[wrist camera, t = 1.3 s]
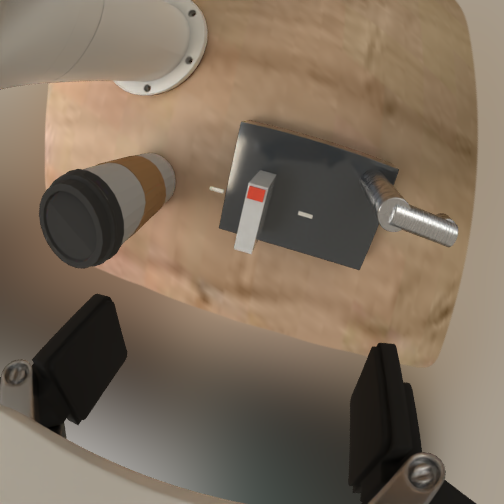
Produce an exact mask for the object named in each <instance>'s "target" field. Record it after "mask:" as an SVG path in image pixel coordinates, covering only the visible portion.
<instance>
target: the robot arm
mask: <svg viewBox="0 0 504 504" xmlns="http://www.w3.org/2000/svg"><path fill="white" fill-rule="evenodd" d="M195 13H196V15H195V16H193V15H194V14H195ZM207 35H208V31H207V24H206V20H205V18H204V15H203V13H202V12H201V10H200V9H199V7H198V6H197V5H196V4H195V3H193V2H192V1H191V0H0V90H1V89H4V88H9V87H15V86H22V85H30V84H40V83H57V82H74V81H114V82H115V84H116V85H117V86H119V87H120V88H121V89H123V90H124V91H127V92H129V93H131V94H136V95H156V94H160V93H164V92H167V91H169V90H171V89H173V88H175V87H177V86H178V85H179V84H181V83H182V82H183V81H185V80H186V79H187V78H188V77H189V76H190V75H191V74H192V73H193V71H194V70H195V69H196V67H197V66H198V64H199V63H200V61H201V58H202V56H203V54H204V52H205V48H206V44H207ZM192 59H193V62H192V63H190V61H191V60H192ZM150 87H151V90H150ZM126 357H127V350H126V346H125V343H124V339H123V335H122V332H121V328H120V324H119V320H118V316H117V313H116V308H115V304H114V302H112V300H111V298H110V297H108V296H104V295H100V294H95V295H93V296H92V297H91V298H90V299H89V301H87V302H86V303H85V304H84V305H83V306H82V307H81V309H79V310H78V311H77V312H76V314H74V315H73V316H72V318H71V319H70V320H69V321H68V322H67V323H66V324H65V325H64V326H63V327H62V328H61V329H60V330H59V331H58V332H57V333H56V334H55V335H54V336H53V337H52V338H51V339H50V340H49V342H48V343H47V344H46V345H45V346H44V347H43V348H42V349H41V350H40V351H39V352H38V353H37V355H36V356H35V357H34V358H33V359H32V360H33V362H34V364H33V365H32V366H31V364H30V363H29V362H27V361H26V360H22V359H21V360H15V361H12V362H11V363H9V364H8V365H7V366H6V367H5V368H4V370H3V371H2V374H1V377H0V504H244V503H239V502H234V501H229V500H225V499H221V498H217V497H213V496H209V495H205V494H201V493H197V492H194V491H191V490H187V489H184V488H180V487H177V486H174V485H171V484H168V483H165V482H162V481H159V480H156V479H154V478H151V477H148V476H145V475H142V474H140V473H138V472H135V471H132V470H130V469H128V468H125V467H123V466H121V465H118V464H116V463H114V462H111V461H109V460H107V459H105V458H102V457H100V456H98V455H96V454H94V453H92V452H90V451H88V450H86V449H84V448H82V447H80V446H78V445H76V444H74V443H73V442H71V441H69V440H67V439H66V433H65V426H64V421H65V420H66V418H67V419H68V420H69V421H71V422H73V423H75V424H77V425H79V423H80V422H81V420H84V419H86V418H87V416H88V415H89V413H90V412H91V410H92V409H93V407H94V406H95V404H96V403H97V401H98V400H99V398H100V397H101V395H102V393H103V392H104V391H105V389H106V388H107V386H108V385H109V383H110V382H111V380H112V379H113V377H114V376H115V374H116V373H117V372H118V370H119V368H120V367H121V366H122V364H123V363H124V361H125V360H126ZM445 473H446V471H445V467H444V464H443V463H442V461H441V460H440V459H439V458H438V457H437V456H435V455H433V454H431V453H425V452H422V448H421V440H420V433H419V426H418V420H417V414H416V408H415V402H414V397H413V391H412V387H411V385H410V384H409V383H403V380H402V373H401V368H400V363H399V358H398V353H397V348H396V345H395V344H387V343H378V345H377V347H372V348H371V350H370V353H369V355H368V358H367V360H366V363H365V365H364V368H363V370H362V373H361V375H360V378H359V380H358V382H357V385H356V387H355V389H354V392H353V394H352V397H351V401H350V456H349V479H348V483H349V486H353V493H361V498H360V501H361V502H362V504H476V503H474V502H473V501H472V500H471V499H469V498H468V497H467V496H465V495H464V494H462V493H461V492H460V491H459V490H457V489H456V488H455V487H453V486H452V485H451V484H449V483H448V482H447V481H446V480H444V479H445Z"/></svg>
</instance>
